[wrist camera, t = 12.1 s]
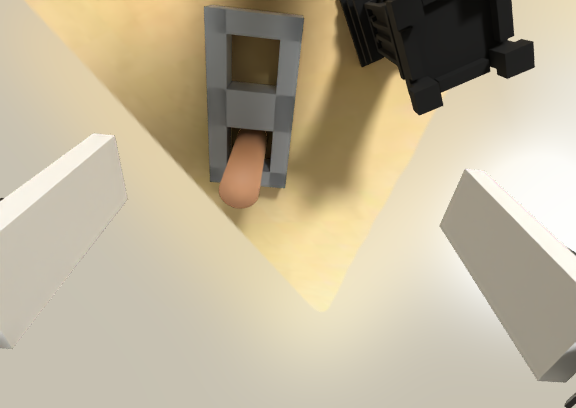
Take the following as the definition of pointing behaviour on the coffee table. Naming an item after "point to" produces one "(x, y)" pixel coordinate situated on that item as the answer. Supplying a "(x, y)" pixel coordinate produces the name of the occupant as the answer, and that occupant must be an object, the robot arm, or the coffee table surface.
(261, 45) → the coffee table surface
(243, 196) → the dowel
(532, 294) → the robot arm
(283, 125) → the socket board
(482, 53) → the chess piece
